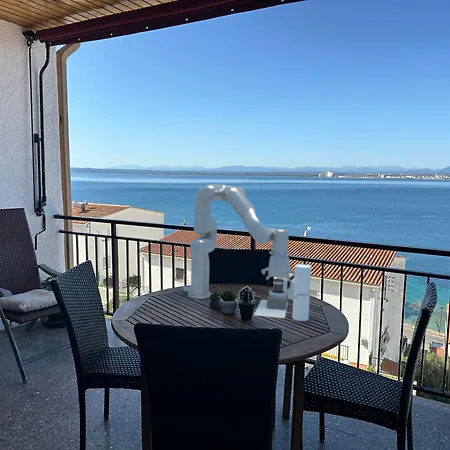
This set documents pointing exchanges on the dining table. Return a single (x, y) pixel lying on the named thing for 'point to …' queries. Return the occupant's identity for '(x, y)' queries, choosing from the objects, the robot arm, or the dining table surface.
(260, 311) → the board
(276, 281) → the lens
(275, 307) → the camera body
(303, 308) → the cylindrical container
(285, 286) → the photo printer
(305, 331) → the dining table surface
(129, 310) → the dining table surface
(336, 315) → the dining table surface
